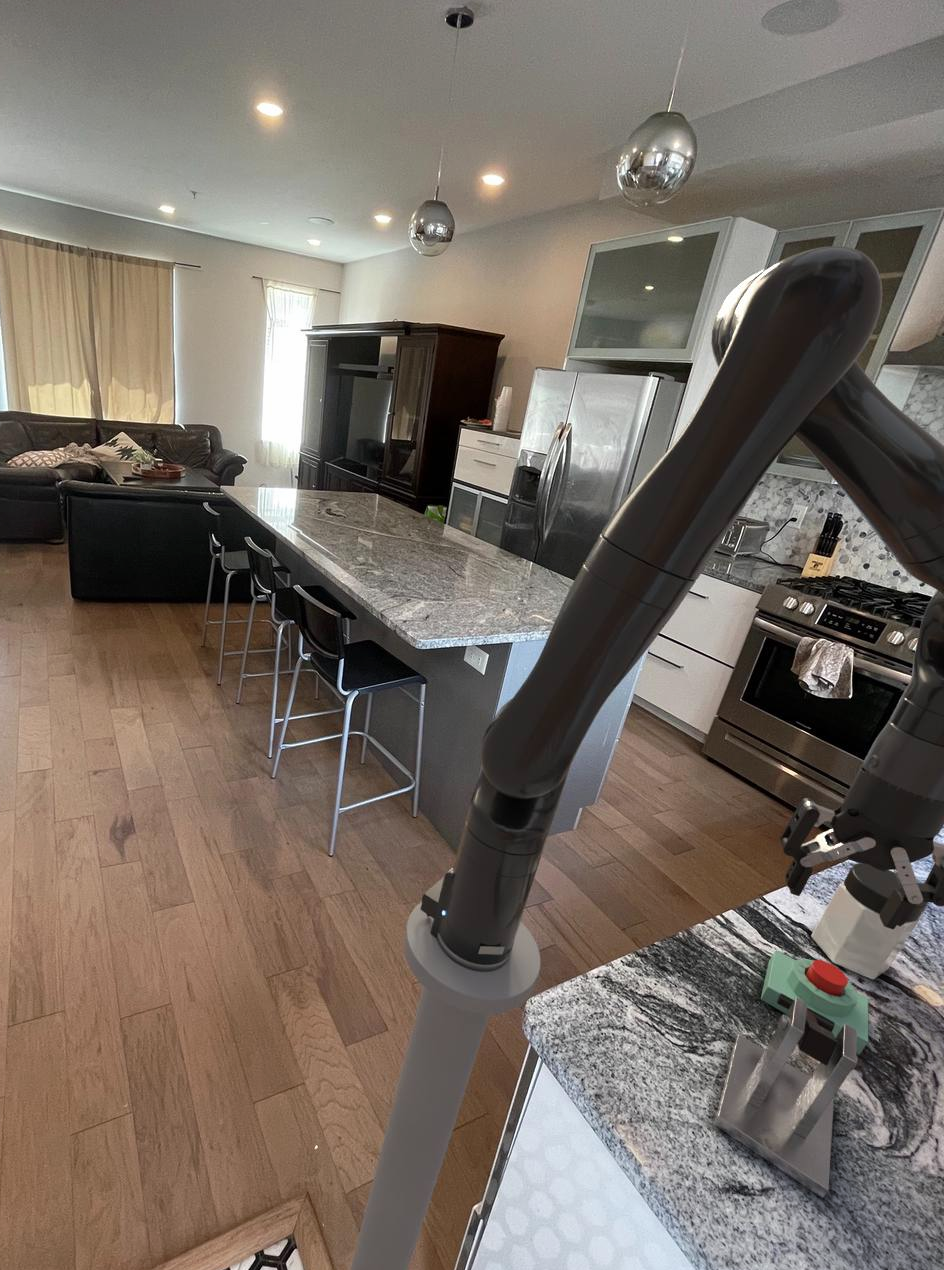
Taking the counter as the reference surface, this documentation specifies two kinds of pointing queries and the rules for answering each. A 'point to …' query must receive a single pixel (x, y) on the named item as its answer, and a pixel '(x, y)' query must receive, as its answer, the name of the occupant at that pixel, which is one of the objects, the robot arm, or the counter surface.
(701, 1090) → the counter surface
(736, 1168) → the counter surface
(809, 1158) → the bracket
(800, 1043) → the lever
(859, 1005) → the button block
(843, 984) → the button
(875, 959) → the jar
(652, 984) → the counter surface
